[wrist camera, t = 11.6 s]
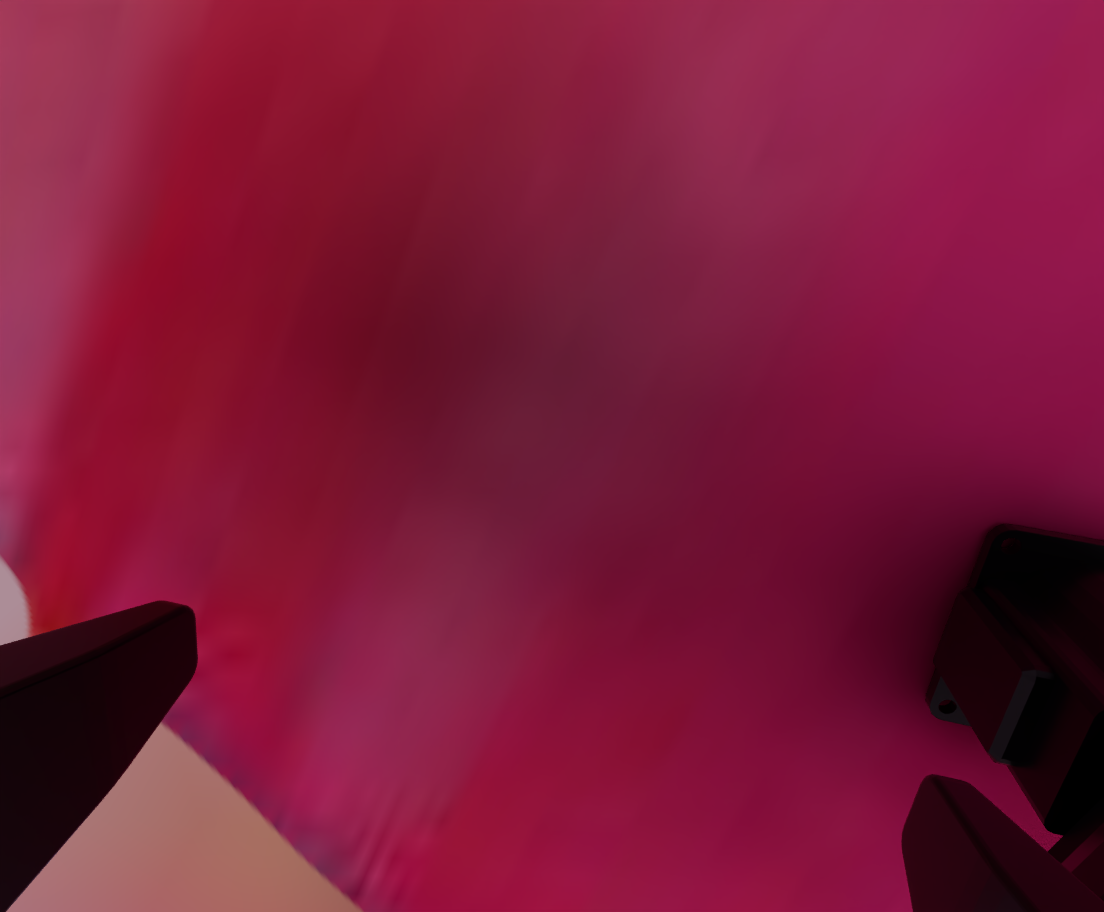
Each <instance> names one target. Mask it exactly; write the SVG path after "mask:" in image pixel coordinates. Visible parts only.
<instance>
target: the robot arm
mask: <svg viewBox="0 0 1104 912" xmlns="http://www.w3.org/2000/svg"><path fill="white" fill-rule="evenodd" d="M1008 538H1015V540H1014V543H1013V544H1012V546H1010V547H1008V548H1001V544H1002V543H1003V541H1004V540H1006V539H1008ZM197 662H198V654H197V635H196V618H195V614H194V612H193V610H192V609H191V608H190V607H189V606H186V605H182V604H178V603H173V602H169V601H155V602H151V603H148V604H144V605H141V606H137V607H134V608H130V609H127V610H123V611H120V612H116V613H113V614H109V615H106V616H102V617H99V618H95V619H92V620H88V621H85V622H81V623H78V624H74V625H71V626H67V627H64V628H60V629H57V630H53V631H50V632H46V633H43V634H39V635H36V636H32V637H28V638H25V639H21V640H18V641H14V642H11V643H8V644H4V645H0V912H6V911H7V910H8V909H9V908H10V906H11V905H12V904H13V903H14V902H15V901H16V900H17V898H18V897H19V896H20V895H21V894H22V893H23V891H24V890H25V889H26V888H27V887H28V886H29V884H30V883H31V882H32V881H33V880H34V879H35V877H36V876H37V875H38V874H39V873H40V872H41V871H42V869H43V868H44V867H45V866H46V865H47V864H48V862H49V861H50V860H51V859H52V858H53V857H54V855H55V854H56V853H57V852H58V851H59V850H60V849H61V847H62V846H63V845H64V844H65V843H66V842H67V840H68V839H69V838H70V837H71V836H72V835H73V833H74V832H75V831H76V830H77V829H78V827H79V826H80V825H81V824H82V823H83V822H84V821H85V819H86V818H87V817H88V816H89V815H90V814H91V813H92V811H93V810H94V809H95V808H96V807H97V806H98V805H99V803H100V802H101V801H102V800H103V799H104V797H105V796H106V795H107V794H108V792H109V791H110V790H111V789H112V787H113V786H114V785H115V784H116V783H117V781H118V780H119V779H120V777H121V776H122V775H123V773H124V772H125V771H126V769H127V768H128V767H129V766H130V764H131V763H132V761H133V759H134V758H135V757H136V756H137V754H138V753H139V752H140V750H141V749H142V747H143V746H144V744H145V743H146V742H147V741H148V739H149V738H150V736H151V735H152V733H153V732H154V731H155V729H156V728H157V727H158V725H159V724H160V722H161V721H162V720H163V718H164V717H165V716H166V714H167V713H168V711H169V710H170V709H171V707H172V706H173V704H174V703H175V702H176V700H177V699H178V697H179V696H180V695H181V693H182V692H183V690H184V689H185V688H186V686H187V685H188V684H189V682H190V681H191V679H192V677H193V675H194V673H195V670H196V667H197ZM933 663H934V665H935V667H936V670H935V672H934V675H933V678H932V680H931V683H930V685H929V688H928V691H927V693H926V698H925V701H926V703H927V706H928V707H929V709H930V711H931V713H932V714H933V715H934V716H935V717H936V718H938V719H941V720H944V721H949V722H953V723H958V724H963V725H967V726H971V727H972V729H973V730H974V732H975V734H976V735H977V737H978V739H979V740H980V742H981V744H982V745H983V747H984V749H985V750H986V752H987V753H988V755H989V756H990V758H991V759H992V760H993V761H994V762H995V763H999V764H1004V765H1007V767H1008V768H1009V770H1010V771H1011V773H1012V775H1013V776H1014V778H1015V780H1016V781H1017V783H1018V784H1019V786H1020V788H1021V789H1022V791H1023V792H1024V794H1025V796H1026V797H1027V799H1028V801H1029V802H1030V804H1031V805H1032V807H1033V809H1034V810H1035V812H1036V813H1037V815H1038V817H1039V818H1040V820H1041V822H1042V823H1043V825H1044V826H1045V828H1046V829H1047V830H1048V831H1050V832H1052V833H1054V834H1058V835H1063V837H1062V838H1061V839H1060V840H1059V841H1058V842H1057V843H1056V844H1055V845H1054V846H1053V847H1052V848H1051V849H1050V850H1049V851H1048V852H1047V851H1046V850H1045V849H1044V848H1043V847H1041V846H1040V845H1039V844H1038V843H1037V842H1036V841H1035V840H1034V839H1032V838H1031V837H1030V836H1029V835H1028V834H1027V833H1026V832H1024V831H1023V830H1022V829H1021V828H1020V827H1019V826H1018V825H1017V824H1015V823H1014V822H1013V821H1012V820H1011V819H1010V818H1009V817H1007V816H1006V815H1005V814H1004V813H1003V812H1002V811H1001V810H1000V809H998V808H997V807H996V806H995V805H994V804H993V803H992V802H990V801H989V800H988V799H987V798H986V797H985V796H984V795H982V794H981V793H980V792H979V791H978V790H977V789H976V788H975V787H973V786H972V785H971V784H969V783H967V782H965V781H962V780H957V779H953V778H949V777H944V776H940V775H935V774H932V775H928V776H926V777H925V778H924V779H923V781H922V783H921V784H920V787H919V789H918V792H917V794H916V797H915V799H914V802H913V804H912V807H911V810H910V812H909V815H908V817H907V820H906V822H905V825H904V828H903V832H902V853H903V859H904V864H905V870H906V875H907V881H908V886H909V892H910V897H911V903H912V908H913V912H1104V541H1101V540H1095V539H1090V538H1084V537H1078V536H1073V535H1067V534H1062V533H1056V532H1051V531H1045V530H1039V529H1034V528H1028V527H1023V526H1017V525H1012V524H1002V525H999V526H996V527H995V528H993V529H992V530H990V531H989V533H988V535H987V536H986V538H985V541H984V543H983V546H982V549H981V551H980V554H979V557H978V559H977V562H976V564H975V567H974V570H973V572H972V575H971V578H970V580H969V583H968V586H967V587H966V588H964V589H963V590H962V591H960V592H959V593H958V595H957V598H956V600H955V603H954V606H953V608H952V611H951V614H950V616H949V619H948V622H947V624H946V627H945V630H944V632H943V635H942V638H941V640H940V643H939V646H938V648H937V651H936V653H935V656H934V659H933ZM944 700H951V702H950V703H949V704H947V705H939V704H940V703H941V702H942V701H944Z"/></svg>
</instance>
